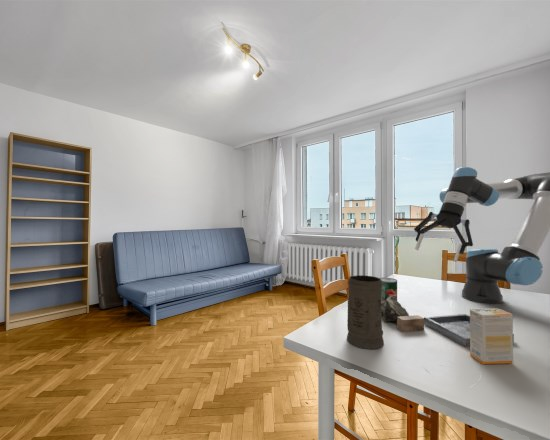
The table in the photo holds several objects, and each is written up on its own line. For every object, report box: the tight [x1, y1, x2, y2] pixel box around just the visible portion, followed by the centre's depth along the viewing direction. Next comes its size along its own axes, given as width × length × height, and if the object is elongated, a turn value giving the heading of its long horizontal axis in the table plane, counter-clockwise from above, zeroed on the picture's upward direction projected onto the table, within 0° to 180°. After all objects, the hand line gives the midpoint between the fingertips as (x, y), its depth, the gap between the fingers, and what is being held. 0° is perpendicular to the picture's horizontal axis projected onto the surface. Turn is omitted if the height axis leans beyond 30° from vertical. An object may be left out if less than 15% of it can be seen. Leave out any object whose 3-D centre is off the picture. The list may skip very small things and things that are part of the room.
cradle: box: [381, 300, 425, 333], centre depth 99 cm, size 8×20×4 cm, turn 10°
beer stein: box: [346, 274, 385, 350], centre depth 84 cm, size 15×11×20 cm
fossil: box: [381, 296, 410, 323], centre depth 99 cm, size 11×9×10 cm
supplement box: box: [469, 308, 514, 365], centre depth 72 cm, size 8×5×13 cm, turn 92°
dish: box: [423, 313, 515, 348], centre depth 88 cm, size 17×17×2 cm
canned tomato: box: [379, 277, 398, 301], centre depth 116 cm, size 8×8×11 cm
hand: (434, 255), depth 104 cm, fingers open, 13 cm apart
